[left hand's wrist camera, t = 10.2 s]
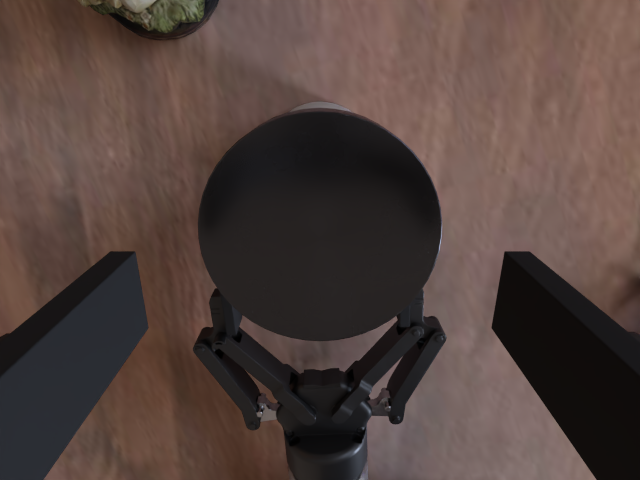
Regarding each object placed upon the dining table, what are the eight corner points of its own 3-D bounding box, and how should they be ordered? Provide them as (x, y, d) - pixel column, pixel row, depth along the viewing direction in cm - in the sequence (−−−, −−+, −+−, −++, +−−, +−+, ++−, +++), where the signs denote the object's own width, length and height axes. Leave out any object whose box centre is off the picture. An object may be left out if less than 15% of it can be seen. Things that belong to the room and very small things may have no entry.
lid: (462, 142, 18) (480, 150, 16) (389, 334, 22) (397, 361, 20) (232, 79, 17) (220, 79, 15) (195, 290, 21) (181, 314, 19)
